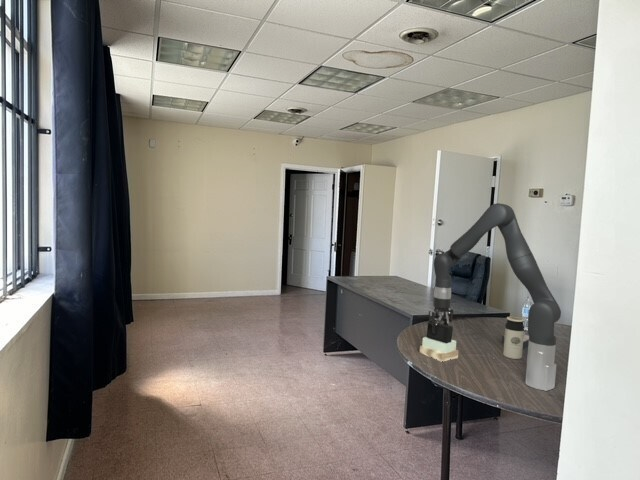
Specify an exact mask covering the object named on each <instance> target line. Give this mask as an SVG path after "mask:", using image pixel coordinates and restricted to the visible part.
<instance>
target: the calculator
mask: <svg viewBox="0 0 640 480" xmlns="http://www.w3.org/2000/svg"><path fill="white" fill-rule="evenodd" d="M504 338H505V335H503V336H501V344H504ZM528 344H529V334H528V335H527V334H524V338H523V349H525V348H528Z"/></svg>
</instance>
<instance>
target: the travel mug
mask: <svg viewBox="0 0 640 480" xmlns="http://www.w3.org/2000/svg"><path fill="white" fill-rule="evenodd" d="M506 320H507V321H506V323H505V326H504V327H505V328H504V336H505V338H504V343H503V352H502V353H503V354H502V355H503V356H504V357H505V358H508V359H511V360H513V359H514V360H520V359H522V358H523V350H524V348H523V338H524V335H525V326H524V322H525V319H524V318H521V317H517V316H507V317H506Z"/></svg>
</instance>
